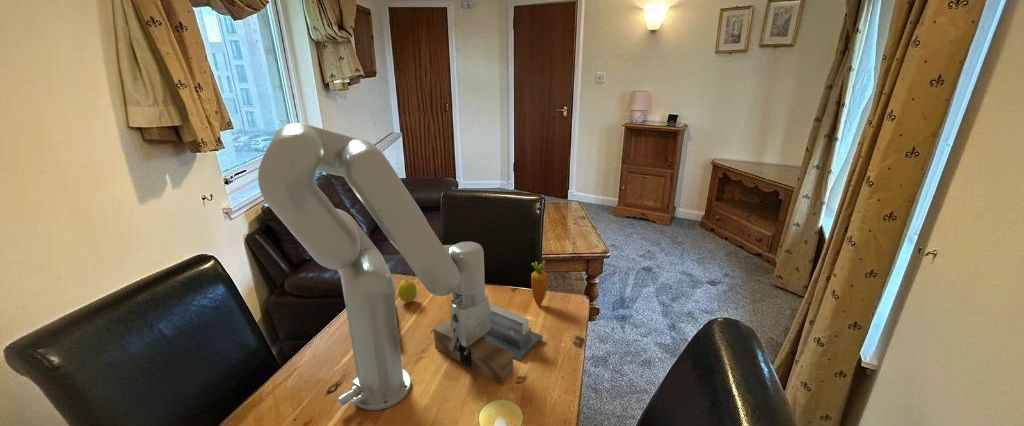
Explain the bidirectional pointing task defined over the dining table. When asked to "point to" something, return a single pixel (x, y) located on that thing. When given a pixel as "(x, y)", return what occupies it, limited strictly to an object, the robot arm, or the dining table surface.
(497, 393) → the dining table surface
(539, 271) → the carrot
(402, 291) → the lemon
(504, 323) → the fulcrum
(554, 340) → the dining table surface
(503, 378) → the walnut beam
